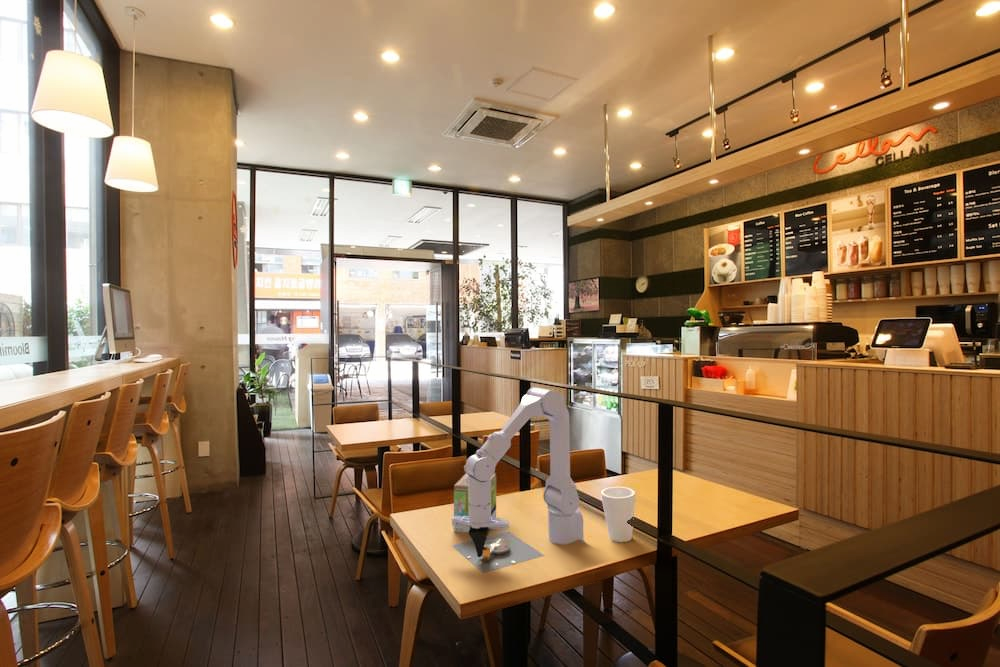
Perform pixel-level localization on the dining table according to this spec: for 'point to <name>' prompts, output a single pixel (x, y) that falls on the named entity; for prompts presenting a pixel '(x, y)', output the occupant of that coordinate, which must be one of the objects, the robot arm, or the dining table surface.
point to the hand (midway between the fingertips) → (480, 555)
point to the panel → (515, 555)
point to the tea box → (462, 500)
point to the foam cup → (618, 512)
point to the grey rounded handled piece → (495, 548)
